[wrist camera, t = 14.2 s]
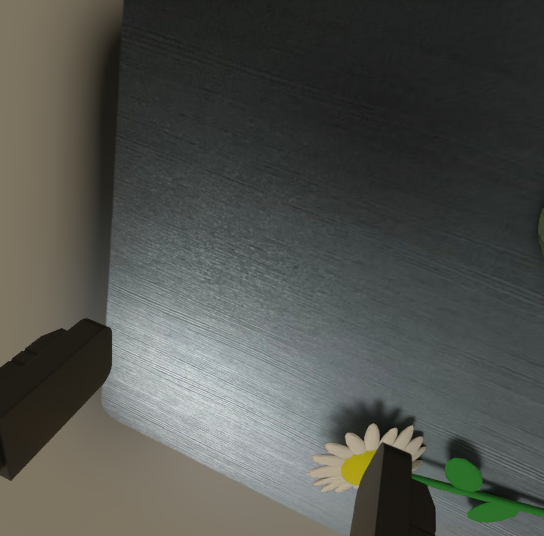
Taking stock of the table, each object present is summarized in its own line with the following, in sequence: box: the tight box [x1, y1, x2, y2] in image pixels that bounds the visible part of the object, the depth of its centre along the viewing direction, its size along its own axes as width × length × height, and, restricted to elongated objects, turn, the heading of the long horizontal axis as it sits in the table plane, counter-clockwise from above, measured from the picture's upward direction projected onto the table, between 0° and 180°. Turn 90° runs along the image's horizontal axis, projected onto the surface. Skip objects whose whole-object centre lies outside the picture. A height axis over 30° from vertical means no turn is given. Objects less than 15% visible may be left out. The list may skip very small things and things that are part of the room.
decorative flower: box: [307, 424, 544, 522], centre depth 44 cm, size 13×5×30 cm
